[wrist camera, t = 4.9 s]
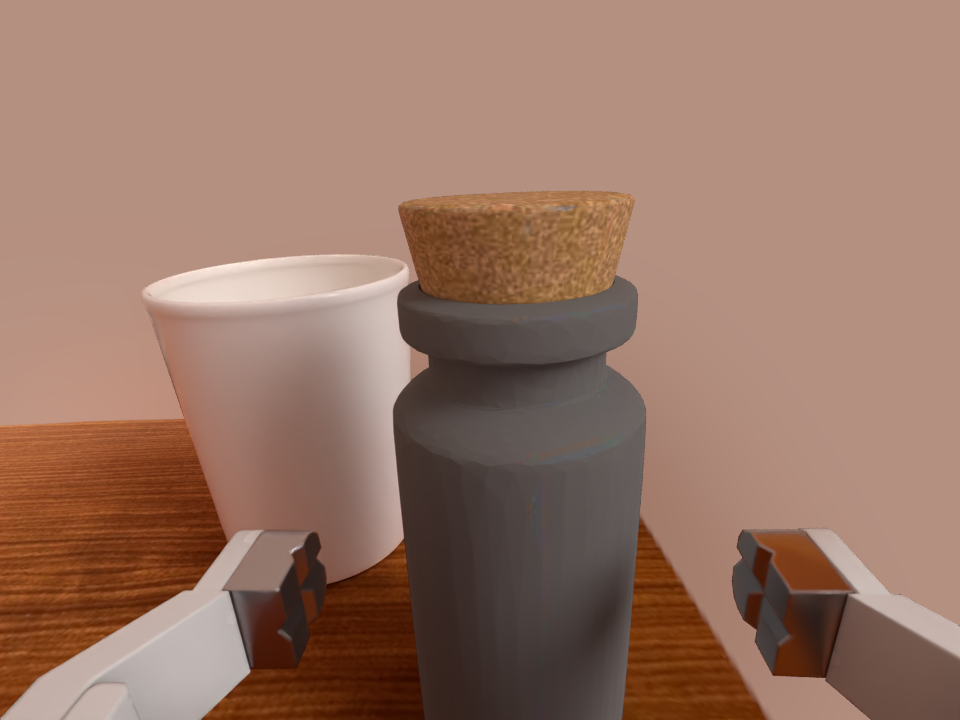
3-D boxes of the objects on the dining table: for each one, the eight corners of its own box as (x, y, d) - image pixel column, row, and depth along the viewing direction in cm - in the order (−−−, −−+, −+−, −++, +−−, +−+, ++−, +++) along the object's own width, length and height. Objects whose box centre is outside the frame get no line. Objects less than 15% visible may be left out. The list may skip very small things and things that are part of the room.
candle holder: (161, 573, 22) (71, 296, 18) (308, 457, 30) (271, 252, 26) (359, 634, 18) (307, 311, 14) (461, 484, 27) (447, 255, 23)
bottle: (561, 612, 19) (571, 187, 14) (664, 775, 14) (740, 192, 9) (407, 663, 17) (351, 199, 12) (457, 870, 12) (398, 215, 7)
